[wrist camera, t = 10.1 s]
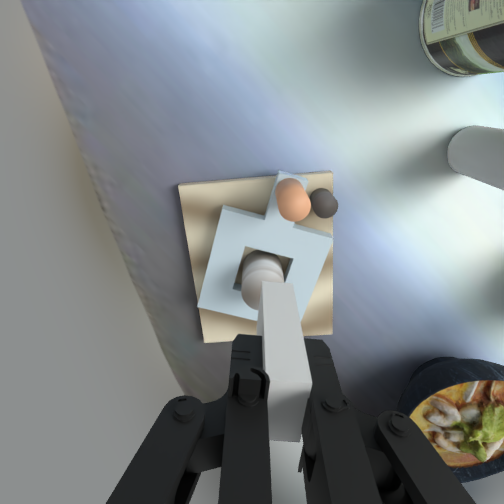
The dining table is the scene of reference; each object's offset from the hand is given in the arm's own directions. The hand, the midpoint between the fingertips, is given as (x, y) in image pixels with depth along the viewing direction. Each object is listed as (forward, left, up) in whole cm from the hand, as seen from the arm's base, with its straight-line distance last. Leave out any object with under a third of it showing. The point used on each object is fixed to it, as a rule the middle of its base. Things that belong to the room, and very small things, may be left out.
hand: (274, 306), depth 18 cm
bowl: (+28, +22, -23) cm, 43 cm away
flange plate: (+6, 0, -22) cm, 22 cm away
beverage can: (-3, +21, -23) cm, 32 cm away
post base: (+8, -1, -23) cm, 25 cm away
